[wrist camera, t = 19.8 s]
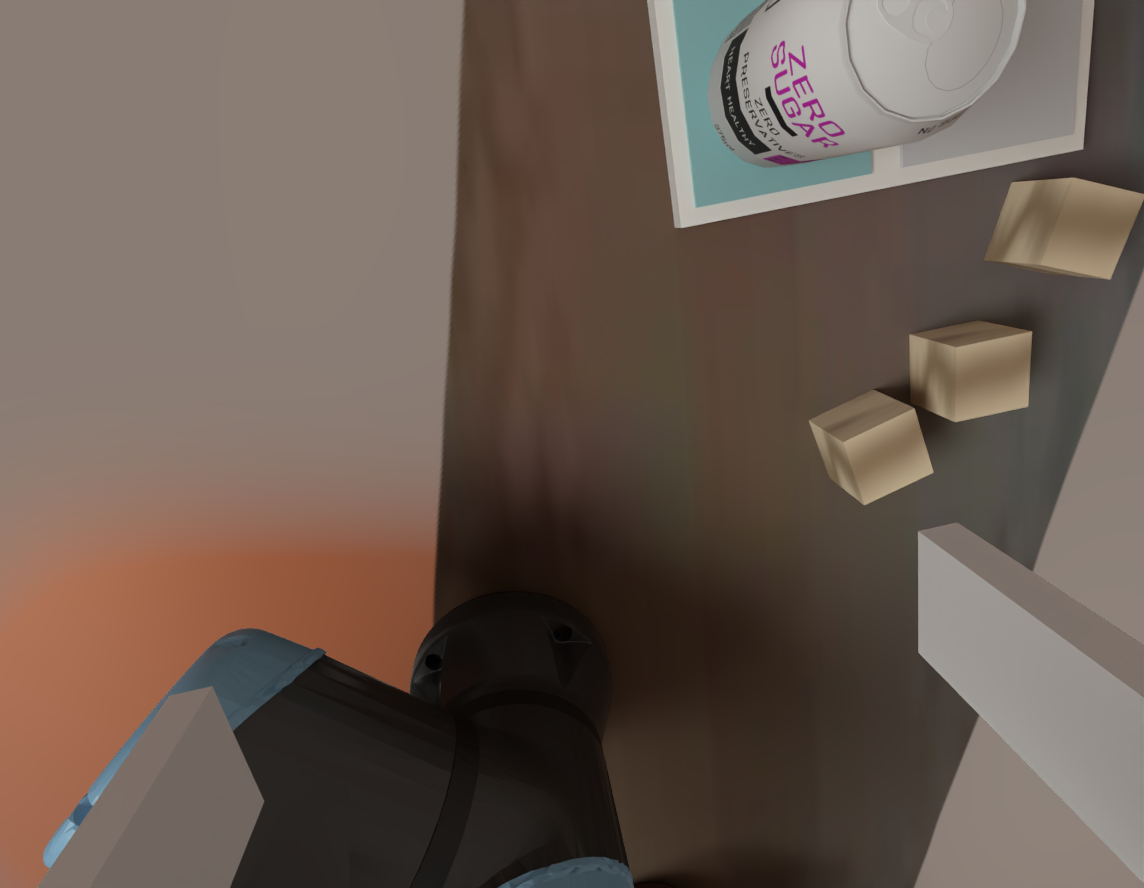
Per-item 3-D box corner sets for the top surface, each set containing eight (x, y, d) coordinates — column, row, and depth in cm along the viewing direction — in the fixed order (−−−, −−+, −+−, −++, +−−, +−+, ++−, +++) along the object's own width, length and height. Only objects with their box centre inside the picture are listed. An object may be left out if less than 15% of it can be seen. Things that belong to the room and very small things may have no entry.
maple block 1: (891, 447, 48) (933, 472, 44) (829, 477, 49) (864, 505, 44) (872, 389, 47) (914, 408, 42) (808, 420, 47) (842, 442, 42)
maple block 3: (1046, 273, 45) (1110, 279, 41) (982, 260, 45) (1040, 264, 40) (1076, 197, 44) (1145, 194, 39) (1011, 182, 43) (1073, 177, 38)
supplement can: (866, 54, 38) (1086, -45, 24) (794, 193, 40) (957, 178, 26) (747, -20, 36) (909, -174, 22) (679, 129, 38) (786, 76, 24)
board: (1063, 151, 43) (1087, 148, 41) (674, 227, 42) (682, 228, 40) (1082, -130, 38) (1110, -146, 36) (640, -52, 37) (647, -65, 35)
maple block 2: (975, 388, 48) (1028, 406, 43) (909, 402, 47) (955, 422, 43) (977, 320, 46) (1032, 331, 41) (908, 334, 46) (956, 347, 41)
